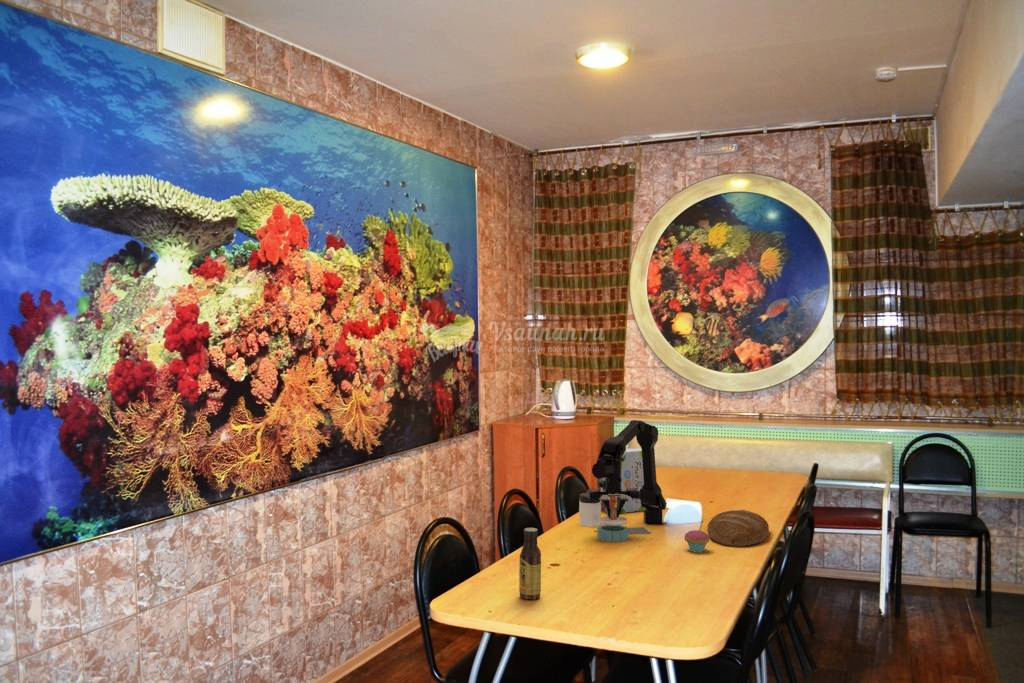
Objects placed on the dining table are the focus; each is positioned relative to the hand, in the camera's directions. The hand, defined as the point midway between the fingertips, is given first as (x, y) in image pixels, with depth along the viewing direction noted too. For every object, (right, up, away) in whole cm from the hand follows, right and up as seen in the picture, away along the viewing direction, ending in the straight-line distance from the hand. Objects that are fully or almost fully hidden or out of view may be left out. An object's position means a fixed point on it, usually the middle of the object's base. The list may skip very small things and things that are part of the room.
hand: (613, 517), depth 312 cm
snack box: (+11, -7, +47) cm, 49 cm away
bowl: (0, -8, 0) cm, 8 cm away
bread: (+48, -9, +7) cm, 49 cm away
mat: (+10, -8, +11) cm, 17 cm away
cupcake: (+27, -9, -15) cm, 32 cm away
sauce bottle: (-32, -10, -67) cm, 74 cm away
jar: (-6, -8, +21) cm, 24 cm away
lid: (0, -2, 0) cm, 2 cm away
